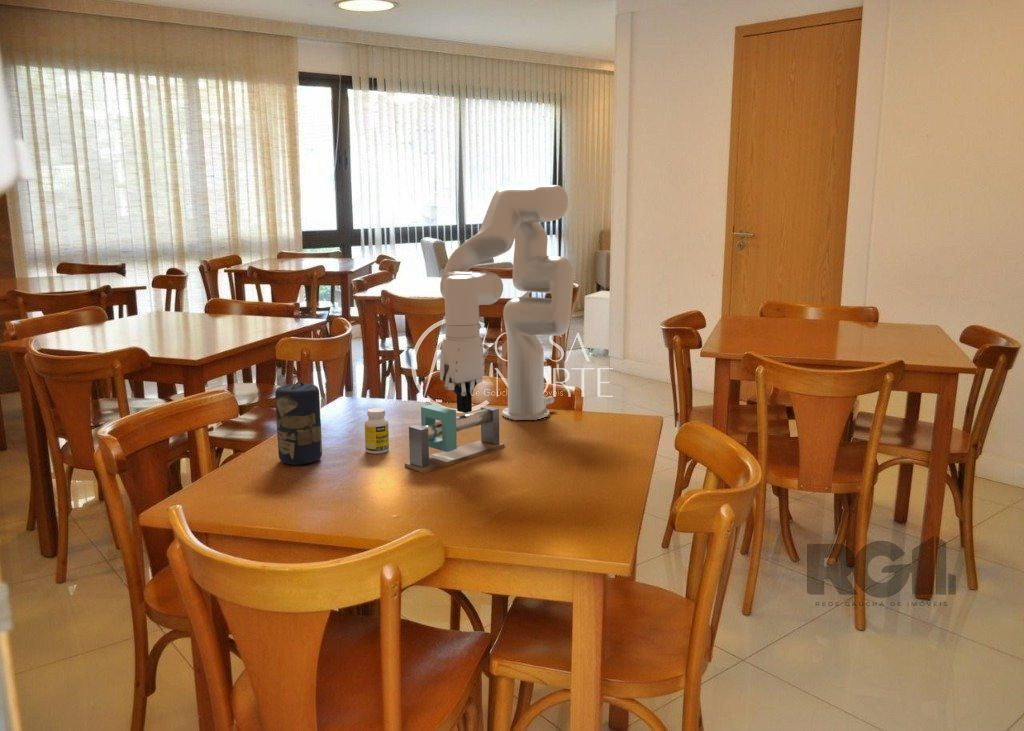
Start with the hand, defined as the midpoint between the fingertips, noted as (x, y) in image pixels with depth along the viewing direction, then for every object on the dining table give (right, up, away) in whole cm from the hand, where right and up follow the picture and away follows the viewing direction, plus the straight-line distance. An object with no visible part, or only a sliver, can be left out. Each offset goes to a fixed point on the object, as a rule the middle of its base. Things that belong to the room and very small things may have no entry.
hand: (464, 411), depth 191 cm
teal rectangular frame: (-5, -8, -5) cm, 10 cm away
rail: (-2, -10, 0) cm, 10 cm away
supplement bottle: (-20, -10, +5) cm, 23 cm away
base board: (-2, -10, 0) cm, 10 cm away
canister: (-36, -11, -2) cm, 38 cm away
